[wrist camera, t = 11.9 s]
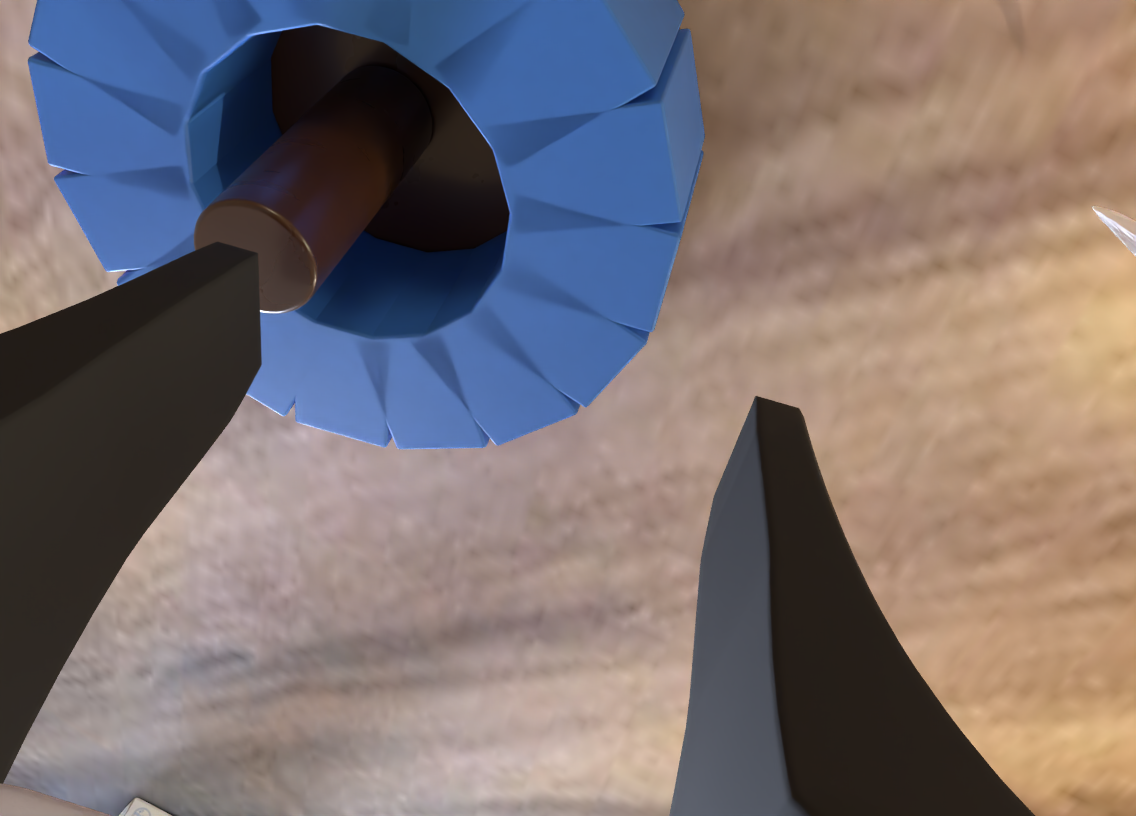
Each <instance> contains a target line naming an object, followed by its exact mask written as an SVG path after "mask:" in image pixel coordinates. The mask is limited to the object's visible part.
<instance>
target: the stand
mask: <svg viewBox="0 0 1136 816" xmlns="http://www.w3.org/2000/svg"><path fill="white" fill-rule="evenodd" d="M271 77H272V109H273V113H274V116H275V118H276V121H277V123H278V126H279V128H280V131H281V133H282V136H281V137H280V138H279V139H278V140H277V141H276V142H275V143H274V144H273V145H272V146H271V147H269V148H268V149H267V150H266V151H265V152H264V153H263V154H262V155H261V156H260V157H259V158H258V159H257V160H256V161H255V162H254V163H253V164H252V165H250V166H249V167H248V168H247V169H246V170H245V171H244V172H243V173H242V174H241V175H240V176H239V177H238V178H237V179H236V180H235V181H234V182H232V183H231V184H230V185H229V186H228V187H227V188H226V189H225V190H224V191H223V192H222V193H221V194H220V195H219V196H218V197H217V198H216V199H215V200H213V201H212V202H211V203H210V204H209V205H208V206H207V207H206V208H205V209H204V210H203V211H202V213H201V214H200V216H199V217H198V219H197V222H196V225H195V230H194V247H195V250H198V249H200V248H202V247H205V246H207V245H210V244H212V243H215V242H217V241H218V242H221V243H225V244H228V245H232V246H235V247H239V248H242V249H246V250H249V251H253V252H256V253H258V265H259V295H260V312H262V313H269V314H280V313H287V312H290V311H294V310H296V309H298V308H300V307H302V306H303V305H305V304H306V303H307V302H308V301H309V300H310V299H311V298H312V296H313V295H314V294H315V293H316V291H317V290H318V289H319V287H320V286H321V285H322V283H323V282H324V281H325V280H326V278H327V277H328V276H329V274H330V273H331V272H332V270H333V269H334V268H335V267H336V265H337V264H338V263H339V261H340V260H341V259H342V258H343V256H344V255H345V254H346V252H347V251H348V250H349V248H350V247H351V246H352V245H353V243H354V242H355V241H356V239H357V238H358V237H359V235H360V234H361V233H362V232H363V230H364V231H366V232H367V233H369V234H370V235H372V236H373V237H375V238H377V239H380V240H384V241H388V242H391V243H395V244H398V245H402V246H406V247H409V248H413V249H417V250H420V251H424V252H427V253H428V252H440V251H452V250H464V249H474V248H476V247H478V246H480V245H482V244H484V243H486V242H487V241H489V240H491V239H493V238H495V237H497V236H498V235H500V234H502V233H504V232H506V231H507V229H508V222H509V215H510V211H509V207H508V203H507V200H506V196H505V192H504V189H503V185H502V182H501V178H500V174H499V171H498V167H497V163H496V160H495V156H494V152H493V149H492V148H491V146H490V145H489V144H488V142H487V141H486V139H485V138H484V137H483V135H482V134H481V132H480V131H479V130H478V128H477V127H476V125H475V124H474V123H473V121H472V120H471V118H470V117H469V116H468V114H467V113H466V112H465V110H464V109H463V107H462V106H461V105H460V103H459V102H458V100H457V99H456V98H455V96H454V95H453V93H452V92H451V91H450V89H449V88H448V87H446V86H445V85H443V84H442V83H441V82H439V81H438V80H436V79H435V78H434V77H432V76H431V75H429V74H428V73H426V72H425V71H424V70H422V69H421V68H419V67H418V66H417V65H415V64H414V63H412V62H411V61H409V60H408V59H407V58H405V57H404V56H402V55H401V54H400V53H398V52H397V51H395V50H394V49H392V48H391V47H390V46H388V45H387V44H385V43H384V42H380V41H377V40H373V39H369V38H365V37H361V36H358V35H354V34H350V33H346V32H343V31H339V30H335V29H331V28H328V27H324V26H320V25H312V26H307V27H301V28H295V29H289V30H283V31H282V32H281V35H280V37H279V39H278V42H277V44H276V47H275V49H274V51H273V54H272V56H271Z"/></svg>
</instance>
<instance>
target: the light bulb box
mask: <svg viewBox="0 0 1136 816" xmlns="http://www.w3.org/2000/svg"><path fill="white" fill-rule="evenodd" d="M119 816H172V815H170V814H168V813H166V812H164V811H162V810H160V809H159V808H157V807H155V806H153V805H151V804H149V803H147V802H145V801H143V800H141V799H139V798H134V799H133V801H132V802H130V804H129V805H128V806H127V807H126V808H125V809H124V810H123V811H122V813H121V814H120V815H119Z"/></svg>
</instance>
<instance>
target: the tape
mask: <svg viewBox="0 0 1136 816" xmlns="http://www.w3.org/2000/svg"><path fill="white" fill-rule="evenodd" d="M684 15H685V14H684V11H683V9H682V8H681V6H680V4H679V3H678V1H677V0H37V4H36V8H35V13H34V18H33V22H32V27H31V31H30V36H29V40H28V42H29V44H30V46H31V47H33V48H34V49H36V50H37V51H39V52H38V53H36V54H35V55H33V56H31V57H29V59H28V65H29V70H30V75H31V80H32V85H33V90H34V95H35V100H36V105H37V110H38V115H39V120H40V125H41V130H42V135H43V140H44V145H45V150H46V155H47V160H48V163H49V164H50V165H51V166H55V167H59V168H62V169H65V170H63V171H62V172H60V173H59V174H58V175H56V176H55V177H54V180H55V182H56V184H57V186H58V187H59V189H60V191H61V193H62V194H63V196H64V198H65V200H66V202H67V203H68V205H69V207H70V209H71V210H72V212H73V214H74V216H75V217H76V219H77V221H78V223H79V225H80V226H81V228H82V230H83V232H84V233H85V235H86V237H87V239H88V240H89V242H90V244H91V246H92V248H93V249H94V251H95V253H96V255H97V256H98V258H99V260H100V262H101V263H102V265H103V267H104V269H105V270H106V271H107V272H113V271H125V270H127V271H126V272H125V273H124V274H123V275H122V276H121V277H120V278H119V279H118V281H117V284H118V286H119V285H121V284H124V283H126V282H128V281H130V280H132V279H135V278H137V277H139V276H141V275H143V274H146V273H148V272H150V271H152V270H154V269H156V268H158V267H161V266H163V265H165V264H167V263H169V262H171V261H173V260H176V259H178V258H180V257H182V256H184V255H186V254H189V253H191V252H193V251H195V247H194V230H195V225H196V222H197V219H198V217H199V216H200V214H201V213H202V211H203V210H204V209H205V208H206V207H207V206H208V205H209V204H210V203H211V202H212V201H213V200H215V199H216V198H217V197H218V196H219V195H220V194H221V193H222V192H223V191H224V190H225V189H226V188H227V187H228V186H229V185H230V184H231V183H232V182H234V181H235V180H236V179H237V178H238V177H239V176H240V175H241V174H242V173H243V172H244V171H245V170H246V169H247V168H248V167H249V166H250V165H252V164H253V163H254V162H255V161H256V160H257V159H258V158H259V157H260V156H261V155H262V154H263V153H264V152H265V151H266V150H267V149H268V148H269V147H271V146H272V145H273V144H274V143H275V142H276V141H277V140H278V139H279V138H280V137H281V136H282V133H281V131H280V128H279V126H278V123H277V121H276V118H275V116H274V113H273V109H272V77H271V56H272V54H273V51H274V49H275V47H276V44H277V42H278V39H279V37H280V35H281V32H282V31H283V30H289V29H295V28H301V27H307V26H312V25H320V26H324V27H328V28H331V29H335V30H339V31H343V32H346V33H350V34H354V35H358V36H361V37H365V38H369V39H373V40H377V41H380V42H384V43H385V44H387V45H388V46H390V47H391V48H392V49H394V50H395V51H397V52H398V53H400V54H401V55H402V56H404V57H405V58H407V59H408V60H409V61H411V62H412V63H414V64H415V65H417V66H418V67H419V68H421V69H422V70H424V71H425V72H426V73H428V74H429V75H431V76H432V77H434V78H435V79H436V80H438V81H439V82H441V83H442V84H443V85H445V86H446V87H448V88H449V89H450V91H451V92H452V93H453V95H454V96H455V98H456V99H457V100H458V102H459V103H460V105H461V106H462V107H463V109H464V110H465V112H466V113H467V114H468V116H469V117H470V118H471V120H472V121H473V123H474V124H475V125H476V127H477V128H478V130H479V131H480V132H481V134H482V135H483V137H484V138H485V139H486V141H487V142H488V144H489V145H490V146H491V148H492V149H493V152H494V156H495V160H496V163H497V167H498V171H499V174H500V178H501V182H502V185H503V189H504V192H505V196H506V200H507V203H508V207H509V211H510V215H509V222H508V229H507V231H506V232H504V233H502V234H500V235H498V236H497V237H495V238H493V239H491V240H489V241H487V242H486V243H484V244H482V245H480V246H478V247H476V248H474V249H464V250H452V251H440V252H428V253H427V252H424V251H420V250H417V249H413V248H409V247H406V246H402V245H398V244H395V243H391V242H388V241H384V240H380V239H377V238H375V237H373V236H372V235H370V234H369V233H367V232H366V231H364V230H363V232H362V233H361V234H360V235H359V237H358V238H357V239H356V241H355V242H354V243H353V245H352V246H351V247H350V248H349V250H348V251H347V252H346V254H345V255H344V256H343V258H342V259H341V260H340V261H339V263H338V264H337V265H336V267H335V268H334V269H333V270H332V272H331V273H330V274H329V276H328V277H327V278H326V280H325V281H324V282H323V283H322V285H321V286H320V287H319V289H318V290H317V291H316V293H315V294H314V295H313V296H312V298H311V299H310V300H309V301H308V302H307V303H306V304H305V305H303V306H302V307H300V308H298V309H296V310H294V311H290V312H287V313H280V314H269V313H262V312H260V326H261V356H262V365H261V367H260V369H259V371H258V373H257V374H256V376H255V378H254V380H253V382H252V384H251V386H250V387H249V389H248V391H247V393H246V394H247V395H249V396H250V397H252V398H254V399H255V400H257V401H259V402H260V403H262V404H264V405H265V406H267V407H269V408H270V409H272V410H274V411H275V412H277V413H279V414H280V415H282V416H285V415H287V413H288V412H289V411H290V409H291V408H292V406H293V405H294V403H295V420H296V422H298V423H301V424H305V425H308V426H312V427H315V428H319V429H322V430H325V431H329V432H332V433H336V434H339V435H343V436H346V437H350V438H353V439H357V440H360V441H364V442H367V443H371V444H374V445H377V446H381V447H387V445H388V443H389V442H390V440H391V438H392V437H393V440H394V442H395V444H396V447H397V448H398V449H440V448H484V447H486V446H487V444H488V442H489V439H490V438H491V440H492V441H493V442H494V443H495V444H496V445H501V444H503V443H506V442H508V441H511V440H513V439H516V438H518V437H521V436H523V435H526V434H528V433H531V432H533V431H536V430H538V429H541V428H543V427H546V426H548V425H551V424H553V423H556V422H558V421H561V420H563V419H566V418H568V417H571V416H573V415H575V414H577V412H578V409H579V406H580V404H581V405H582V406H584V407H587V406H589V405H590V403H591V402H592V401H593V400H594V399H595V398H596V397H597V396H598V395H599V394H600V393H601V392H602V391H603V390H604V389H605V387H606V386H607V385H608V384H609V383H610V382H611V381H612V380H613V379H614V378H615V377H616V376H617V375H618V374H619V372H620V371H621V370H622V369H623V368H624V367H625V366H626V365H627V364H628V363H629V362H630V361H631V360H632V359H633V358H634V356H635V355H636V354H637V353H638V352H639V351H640V350H641V349H642V348H643V347H644V346H645V345H646V344H647V340H648V336H649V333H650V332H653V330H654V329H655V326H656V322H657V319H658V315H659V312H660V308H661V305H662V302H663V298H664V295H665V291H666V288H667V284H668V281H669V277H670V274H671V271H672V267H673V264H674V260H675V257H676V253H677V250H678V246H679V243H680V240H681V236H682V232H683V229H684V225H685V221H686V218H687V214H688V210H689V206H690V203H691V199H692V195H693V192H694V188H695V184H696V181H697V177H698V173H699V169H700V166H701V162H702V158H703V155H704V154H703V151H702V150H701V149H702V146H703V142H704V138H705V133H704V126H703V118H702V111H701V104H700V96H699V89H698V82H697V74H696V67H695V60H694V52H693V45H692V38H691V31H690V29H681V30H679V28H680V25H681V23H682V20H683V18H684Z"/></svg>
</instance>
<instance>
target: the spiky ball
mask: <svg viewBox="0 0 1136 816" xmlns="http://www.w3.org/2000/svg"><path fill="white" fill-rule="evenodd" d="M1092 208H1093V210H1094V211H1095V212H1096V214H1097V215H1098V216H1099V217H1100V219H1101V220H1102V221H1103V222H1104V223H1105V224H1106V225H1107V226H1108V227H1109V229H1110V230H1111V231H1112V232H1113V233H1114V234H1115V235H1116V236H1117V237H1118V238H1119V239H1120V240H1121V241H1122V242H1123V244H1124V245H1125V246H1126V247H1127V248H1128V249H1129V250H1130V251H1131V252H1132V253H1133V254H1134V255H1135V256H1136V221H1135V220H1133V219H1131V218H1129V217H1127V216H1125V215H1123V214H1121V213H1119V212H1116V211H1114V210H1111V209H1108V208H1104V207H1100V206H1092Z"/></svg>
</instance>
